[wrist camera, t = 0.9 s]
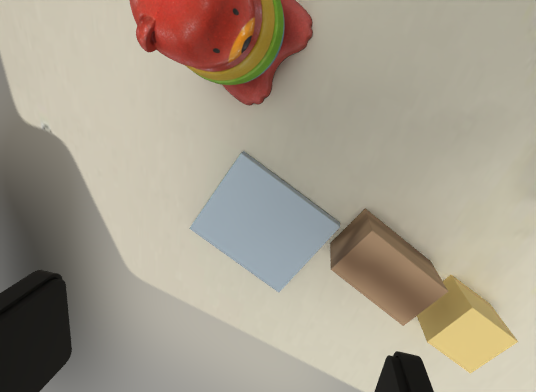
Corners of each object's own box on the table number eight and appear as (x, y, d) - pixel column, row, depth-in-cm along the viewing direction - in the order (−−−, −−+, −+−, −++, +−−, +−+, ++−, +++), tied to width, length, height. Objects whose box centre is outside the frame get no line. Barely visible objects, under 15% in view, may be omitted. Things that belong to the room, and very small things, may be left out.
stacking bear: (255, 113, 35) (191, 139, 18) (182, 51, 34) (47, 20, 18) (322, 25, 31) (316, -42, 14) (242, -47, 30) (139, -206, 14)
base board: (243, 151, 37) (240, 153, 35) (339, 222, 37) (340, 226, 36) (193, 224, 41) (189, 228, 40) (280, 287, 42) (278, 292, 41)
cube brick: (450, 274, 37) (472, 307, 32) (489, 303, 38) (517, 341, 32) (413, 305, 39) (427, 341, 34) (450, 332, 40) (470, 373, 34)
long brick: (365, 208, 36) (372, 230, 31) (430, 260, 37) (448, 291, 32) (330, 242, 39) (330, 269, 33) (392, 291, 39) (403, 325, 34)
